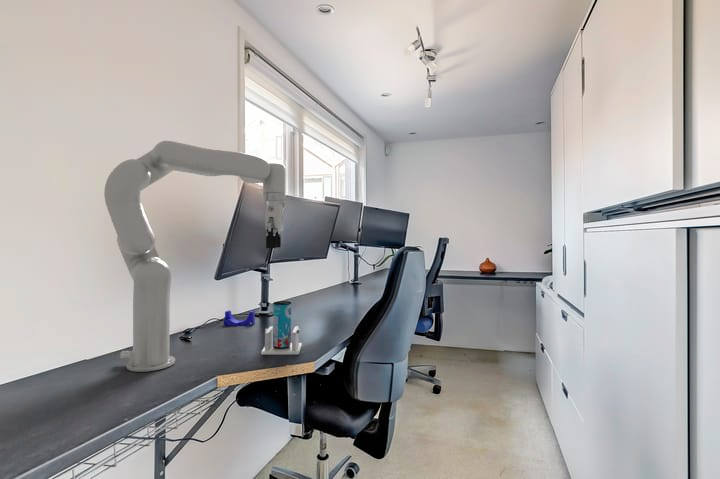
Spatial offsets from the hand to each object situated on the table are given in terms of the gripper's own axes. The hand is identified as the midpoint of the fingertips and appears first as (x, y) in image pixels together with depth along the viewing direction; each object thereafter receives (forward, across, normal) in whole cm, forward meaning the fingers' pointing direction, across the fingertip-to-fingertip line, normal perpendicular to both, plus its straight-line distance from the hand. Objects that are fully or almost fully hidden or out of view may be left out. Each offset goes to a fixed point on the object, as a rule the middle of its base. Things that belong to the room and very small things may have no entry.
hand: (273, 247), depth 137 cm
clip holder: (+34, -5, -4) cm, 35 cm away
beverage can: (+33, -5, -4) cm, 34 cm away
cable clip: (+35, +33, +20) cm, 52 cm away
